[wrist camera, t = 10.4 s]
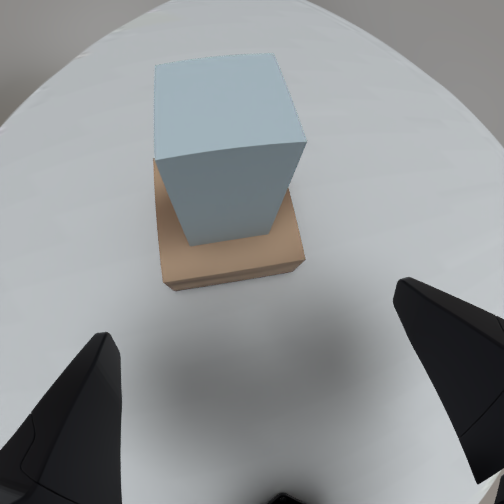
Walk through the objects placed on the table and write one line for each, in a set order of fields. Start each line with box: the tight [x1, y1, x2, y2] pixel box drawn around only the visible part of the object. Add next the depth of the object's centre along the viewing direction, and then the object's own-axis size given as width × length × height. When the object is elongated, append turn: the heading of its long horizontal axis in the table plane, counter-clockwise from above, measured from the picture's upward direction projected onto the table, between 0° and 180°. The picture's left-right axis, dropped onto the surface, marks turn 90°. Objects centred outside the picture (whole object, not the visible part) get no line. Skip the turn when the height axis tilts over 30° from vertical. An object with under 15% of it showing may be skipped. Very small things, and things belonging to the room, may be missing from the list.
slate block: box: [154, 53, 307, 246], centre depth 14 cm, size 5×5×10 cm
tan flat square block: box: [153, 158, 305, 291], centre depth 21 cm, size 9×9×4 cm
